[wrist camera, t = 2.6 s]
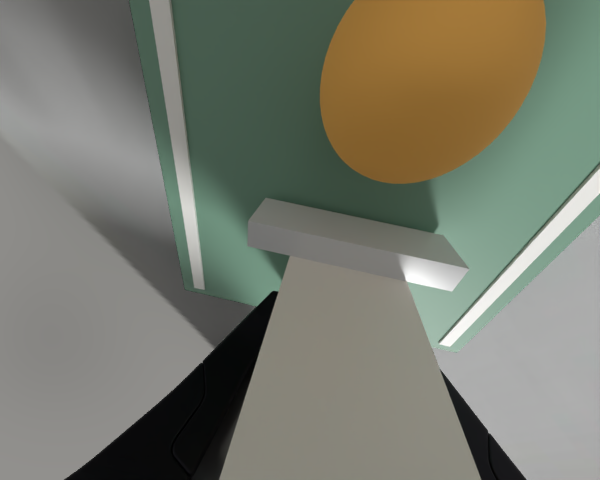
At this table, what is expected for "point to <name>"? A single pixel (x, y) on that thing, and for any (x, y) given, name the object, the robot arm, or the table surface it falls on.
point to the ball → (426, 82)
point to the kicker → (348, 356)
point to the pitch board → (343, 179)
